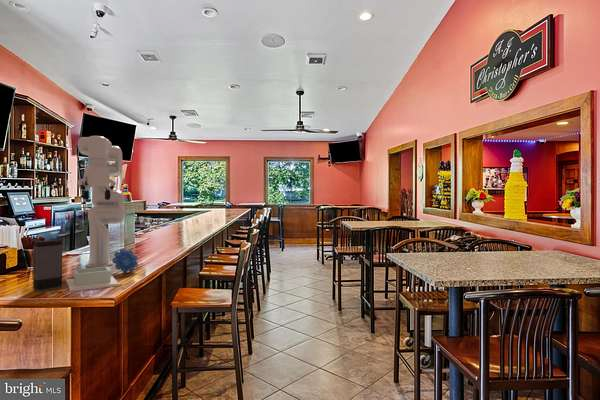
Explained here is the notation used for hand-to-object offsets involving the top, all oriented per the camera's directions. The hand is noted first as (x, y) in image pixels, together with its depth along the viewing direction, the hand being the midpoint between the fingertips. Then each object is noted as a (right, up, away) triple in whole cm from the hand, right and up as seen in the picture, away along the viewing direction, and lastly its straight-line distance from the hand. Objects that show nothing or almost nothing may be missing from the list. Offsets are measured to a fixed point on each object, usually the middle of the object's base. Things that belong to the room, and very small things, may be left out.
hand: (97, 199), depth 174 cm
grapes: (+9, -36, +10) cm, 39 cm away
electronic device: (-9, -37, -20) cm, 43 cm away
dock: (+4, -37, -11) cm, 38 cm away
